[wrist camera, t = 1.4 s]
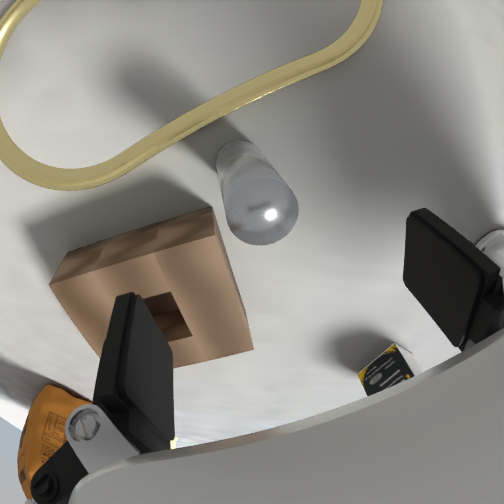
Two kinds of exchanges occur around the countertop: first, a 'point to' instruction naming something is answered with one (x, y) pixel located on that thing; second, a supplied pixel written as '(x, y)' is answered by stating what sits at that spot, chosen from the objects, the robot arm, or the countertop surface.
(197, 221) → the bore block
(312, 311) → the countertop surface
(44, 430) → the coffee package
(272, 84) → the wavy rubber band
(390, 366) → the medicine bottle
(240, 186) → the pin
